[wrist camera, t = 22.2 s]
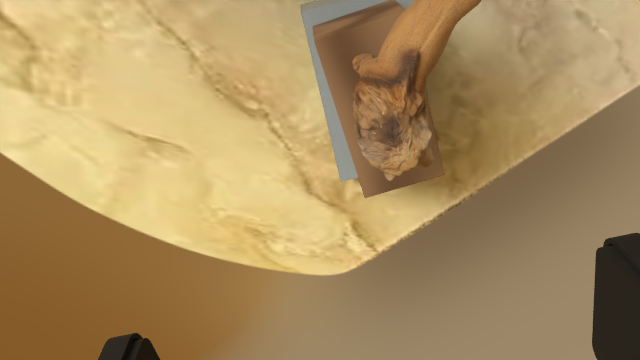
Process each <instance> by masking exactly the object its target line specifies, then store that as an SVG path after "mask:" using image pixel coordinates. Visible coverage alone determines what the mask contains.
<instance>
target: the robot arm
mask: <svg viewBox="0 0 640 360" xmlns="http://www.w3.org/2000/svg"><path fill="white" fill-rule="evenodd" d="M592 336H593V337H592V345H593V350H594V353H595V355H596V358H597V360H640V234H639V233H633V234H628V235H623V236H618V237H613V238H608V239H606V240H605V242H604V246H603V247H601V248H598V249H597V251H596V267H595V290H594V311H593V335H592ZM98 360H160V358H159V357H158V355H157V353H156V351H155V349H154V347H153V345H152V343H151V342H150V340H149V339H147V338H144V339H143V338H142V337H141V336H140V335H139V334H138V333H133V334H128V335H123V336H118V337H113V338H110V339H109V340H107V342H106V343H105V345H104V347H103V350H102V352H101V354H100V356H99V358H98Z"/></svg>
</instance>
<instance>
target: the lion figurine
mask: <svg viewBox="0 0 640 360" xmlns="http://www.w3.org/2000/svg"><path fill="white" fill-rule="evenodd" d="M480 2H481V0H415V1H414V2H413V3H412V4H411V5H410V6H409V7H408V8H407V9H406V10H405V11H404V12H403V13H402V14H401V15H400V16H399V18H398V19H397V20H396V22H395V24H394V25H393V27H392V29H391V30H390V32H389V34H388V36H387V38H386V39H385V41H384V43H383V45H382V47H381V50H380V52H379V55H378V57H375V58H374V57H373V55H372V54H360V55H358V56H356V57H355V58H354V59H353V62H352V63H353V68H354V69H355V70H356V72H357V73H359V74H360V76H361V78H360V79H359V81H358V83H357V85H356V88H355V92H354V93H353V95H352V96H353V109H354V110H353V116H354V123H355V124H354V127H355V130H356V132H357V133H358V140H357V141H358V144H359V146H360V148H361V149H362V154H363V155H364V156H365V158H366V160H367V161H368V162H369V165H371V166H373V167H376V168H378V169H379V170H381V171H383V172H384V175H385V177H386V179H387V180H389V181H390V180H393V178H394V177H395V176H396V175H398V176H399V175H401V174H402V173H403V172H404V171H408V170H410V169H411V168H414V167H420V168H427V167H429V166H431V165H432V164H433V163H434V157H433V155H432V150H431V148H430V147H429V146H428V142H429V140H430V138H431V135H432V133H431V131H430V130H429V128H428V126H429V121H428V116H427V113H426V111H425V109H426V102H425V98H424V90H425V86H426V78H427V76H428V75H429V73H430V72H431V70H432V69H433V67H434V66H435V64H436V63H437V61H438V59H439V57H440V55H441V54H442V52H443V50H444V48H445V45H446V43H447V41H448V38H449V36H450V34H451V32H452V30H453V28H454V27H455V25H456V24H457V22H458V21H459V20H460V19H461V18H462V17H463V16H465V15H466V14H467V13H468V12H470V11H471V10H472V9H473V8H474V7H476V6H477V5H478V4H479V3H480Z"/></svg>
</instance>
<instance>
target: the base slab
mask: <svg viewBox="0 0 640 360" xmlns="http://www.w3.org/2000/svg"><path fill="white" fill-rule="evenodd" d="M385 1H388V0H319V1H315V2H311V3H307V4H303V5H301V14H302V18H303V22H304V26H305V31H306V35H307V39H308V43H309V48H310V52H311V56H312V60H313V65H314V69H315V73H316V78H317V82H318V86H319V90H320V95H321V99H322V103H323V107H324V112H325V116H326V120H327V124H328V129H329V133H330V137H331V142H332V146H333V150H334V154H335V159H336V163H337V167H338V171H339V176H340V180H341V181H345V180H350V179H354V178H358V175H357V172H356V169H355V166H354V163H353V160H352V157H351V154H350V150H349V147H348V144H347V141H346V138H345V135H344V132H343V129H342V126H341V123H340V120H339V117H338V113H337V110H336V107H335V104H334V101H333V98H332V95H331V92H330V89H329V86H328V83H327V80H326V77H325V73H324V70H323V67H322V64H321V61H320V58H319V55H318V52H317V49H316V46H315V43H314V36H313V27H312V26H315V25H317V24H320V23H323V22H326V21H329V20H332V19H335V18H338V17H341V16H344V15H347V14H350V13H353V12H356V11H359V10H362V9H365V8H368V7H370V6H373V5H376V4H379V3H382V2H385ZM395 1H396V2H398V3H399V4H400V5H401V6H402V7H403V8H404V9H405V10H406V9H407V8H408V7H409V6H410V5H411V4H412V3H413V2H414V1H415V0H395ZM425 92H426V96H427V90H426V86H425ZM427 101H428V98H427Z"/></svg>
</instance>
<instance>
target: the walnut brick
mask: <svg viewBox="0 0 640 360" xmlns="http://www.w3.org/2000/svg"><path fill="white" fill-rule="evenodd" d="M404 11H405V9H404V8H403V7H402V6H401V5H400V4H399V3H398V2H396V1H395V0H388V1H385V2H382V3H379V4H376V5H373V6H370V7H368V8H365V9H362V10H359V11H356V12H353V13H350V14H347V15H344V16H341V17H338V18H335V19H332V20H329V21H326V22H323V23H320V24H317V25H315V26H312V27H313V36H314V43H315V46H316V49H317V52H318V55H319V58H320V61H321V64H322V67H323V70H324V73H325V77H326V80H327V83H328V86H329V89H330V92H331V95H332V98H333V101H334V104H335V107H336V110H337V113H338V117H339V120H340V123H341V126H342V129H343V132H344V135H345V138H346V141H347V144H348V147H349V150H350V154H351V157H352V160H353V163H354V166H355V169H356V172H357V175H358V178H359V181H360V184H361V187H362V190H363V194H364V197H365V198H367V197H371V196H374V195H377V194H381V193H384V192H388V191H391V190H394V189H398V188H401V187H405V186H408V185H411V184H415V183H418V182H421V181H425V180H428V179H432V178H435V177H438V176H442V175H445V174H444V170H443V166H442V161H441V157H440V153H439V148H438V144H437V140H436V135H435V131H434V127H433V122H432V118H431V114H430V109H429V105H428V101H427V96H426V92H425V90H424V98H425V102H426V109H425V111H426V113H427V116H428V121H429V126H428V128H429V130H430V131H431V133H432V135H431V138H430V140H429V142H428V146H429V147H430V148H431V150H432V155H433V157H434V163H433V164H432V165H431V166H429V167H427V168H420V167H414V168H411V169H410V170H408V171H404V172H403V173H402V174H401V175H399V176H398V175H396V176H395V177H394V178H393V180H390V181H389V180H387V179H386V177H385V175H384V172H383V171H381V170H379V169H378V168H376V167H373V166H371V165H369V162H368V161H367V160H366V158H365V156H364V155H363V154H362V149H361V148H360V146H359V144H358V141H357V140H358V133H357V132H356V130H355V127H354V124H355V123H354V116H353V110H354V109H353V96H352V95H353V93H354V92H355V88H356V85H357V83H358V81H359V79H360V78H361V76H360V74H359V73H357V72H356V70H355V69H354V68H353V63H352V62H353V59H354V58H355V57H356V56H358V55H360V54H372V55H373V57H374V58H375V57H378V55H379V52H380V50H381V47H382V45H383V43H384V41H385V39H386V38H387V36H388V34H389V32H390V30H391V29H392V27H393V25H394V24H395V22H396V20H397V19H398V18H399V16H400V15H401V14H402V13H403V12H404Z"/></svg>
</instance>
